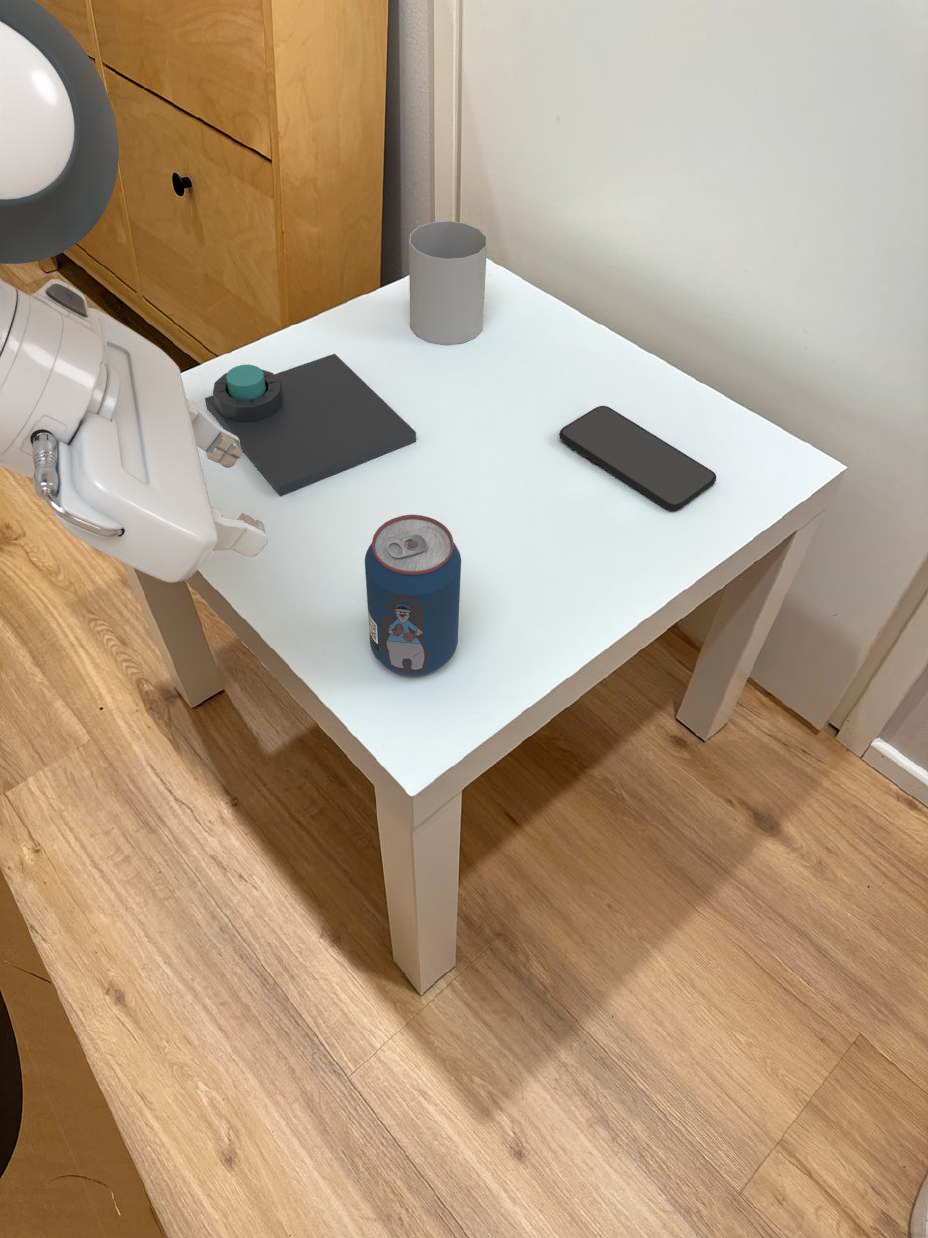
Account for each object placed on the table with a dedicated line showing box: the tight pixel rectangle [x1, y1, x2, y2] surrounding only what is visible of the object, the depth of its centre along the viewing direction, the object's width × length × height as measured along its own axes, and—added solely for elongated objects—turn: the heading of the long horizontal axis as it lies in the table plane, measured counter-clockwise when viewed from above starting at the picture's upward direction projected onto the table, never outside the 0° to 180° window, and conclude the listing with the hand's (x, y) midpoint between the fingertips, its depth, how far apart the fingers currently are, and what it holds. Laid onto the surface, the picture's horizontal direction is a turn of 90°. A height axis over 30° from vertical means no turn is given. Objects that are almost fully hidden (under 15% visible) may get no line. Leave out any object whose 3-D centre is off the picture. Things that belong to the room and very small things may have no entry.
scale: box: [204, 353, 417, 497], centre depth 90 cm, size 15×16×3 cm
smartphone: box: [558, 405, 717, 512], centre depth 89 cm, size 7×1×15 cm
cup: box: [408, 220, 488, 346], centre depth 100 cm, size 8×8×10 cm
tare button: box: [226, 364, 266, 400], centre depth 90 cm, size 4×4×2 cm
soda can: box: [364, 514, 462, 678], centre depth 68 cm, size 7×7×12 cm
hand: (247, 495), depth 58 cm, fingers open, 8 cm apart
